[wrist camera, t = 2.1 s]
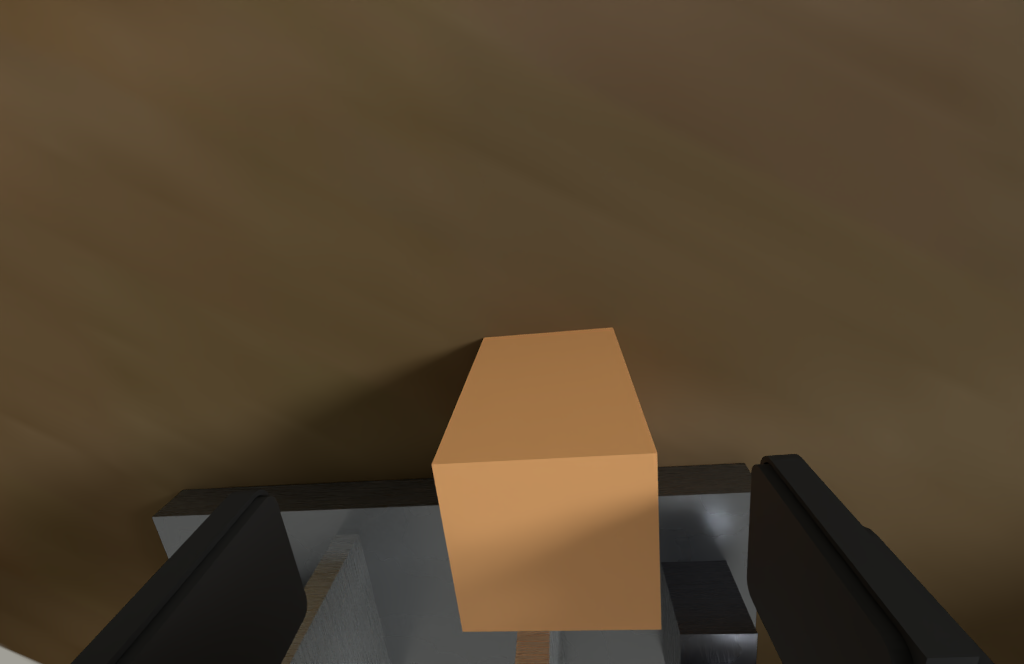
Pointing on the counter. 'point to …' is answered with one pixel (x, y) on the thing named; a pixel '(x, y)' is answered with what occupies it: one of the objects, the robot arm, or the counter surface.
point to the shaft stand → (430, 588)
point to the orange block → (551, 489)
